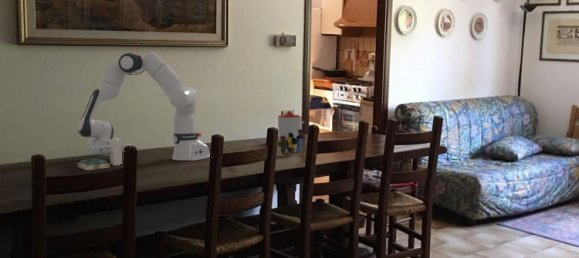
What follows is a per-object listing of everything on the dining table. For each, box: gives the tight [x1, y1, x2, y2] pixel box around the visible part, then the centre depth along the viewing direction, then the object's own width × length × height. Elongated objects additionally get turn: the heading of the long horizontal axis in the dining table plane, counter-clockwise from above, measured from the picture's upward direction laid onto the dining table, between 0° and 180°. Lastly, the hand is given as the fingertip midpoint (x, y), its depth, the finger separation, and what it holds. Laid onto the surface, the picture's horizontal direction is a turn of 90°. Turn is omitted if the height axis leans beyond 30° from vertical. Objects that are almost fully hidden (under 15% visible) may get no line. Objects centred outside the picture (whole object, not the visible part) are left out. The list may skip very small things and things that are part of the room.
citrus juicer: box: [277, 110, 305, 142], centre depth 391 cm, size 16×17×20 cm
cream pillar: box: [109, 137, 123, 166], centre depth 311 cm, size 4×4×14 cm
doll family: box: [278, 128, 306, 157], centre depth 344 cm, size 23×9×13 cm, turn 160°
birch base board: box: [76, 157, 111, 171], centre depth 304 cm, size 12×12×4 cm
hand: (116, 150), depth 310 cm, fingers open, 7 cm apart
